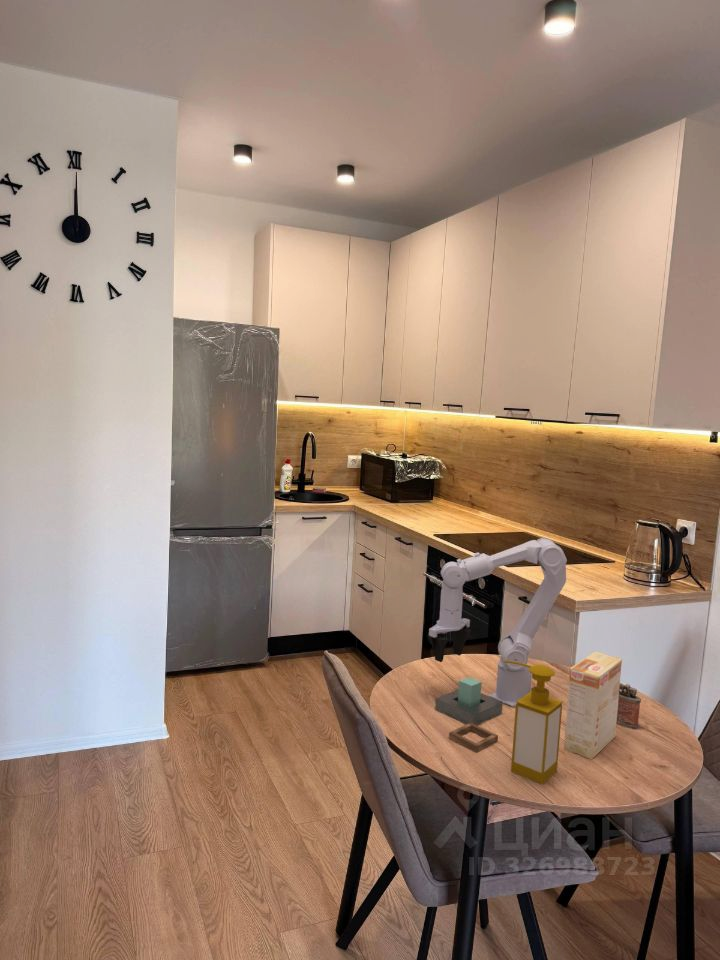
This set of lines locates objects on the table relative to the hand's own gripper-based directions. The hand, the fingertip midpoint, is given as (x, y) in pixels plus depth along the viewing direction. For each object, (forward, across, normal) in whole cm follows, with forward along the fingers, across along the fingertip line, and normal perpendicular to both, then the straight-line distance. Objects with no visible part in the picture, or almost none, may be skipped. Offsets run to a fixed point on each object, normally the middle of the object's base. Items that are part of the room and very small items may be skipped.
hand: (448, 657), depth 181 cm
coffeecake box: (+11, -7, +38) cm, 40 cm away
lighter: (+11, -23, +38) cm, 46 cm away
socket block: (+10, +3, +10) cm, 15 cm away
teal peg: (+10, +3, +10) cm, 15 cm away
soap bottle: (+11, +15, +34) cm, 38 cm away
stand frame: (+10, +14, +20) cm, 27 cm away
